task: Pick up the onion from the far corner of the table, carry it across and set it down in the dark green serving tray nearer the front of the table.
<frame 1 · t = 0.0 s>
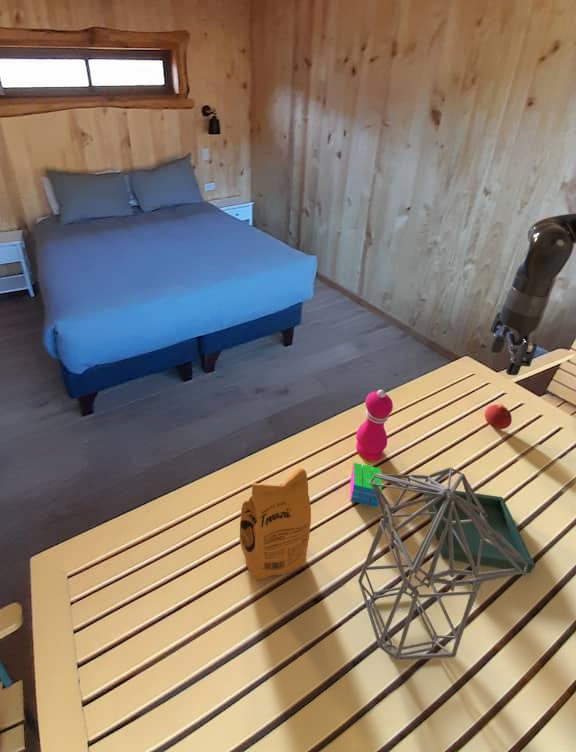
hand: (502, 362, 98), 22 cm above the table, tool pointing down, fingers open, 8 cm apart
onion: (493, 427, 107), on the table
coffee package: (271, 552, 81), on the table
pepper mill: (368, 451, 101), on the table
puzzle toy: (363, 493, 91), on the table
geometric lantern: (401, 623, 70), on the table
tray: (472, 530, 83), on the table
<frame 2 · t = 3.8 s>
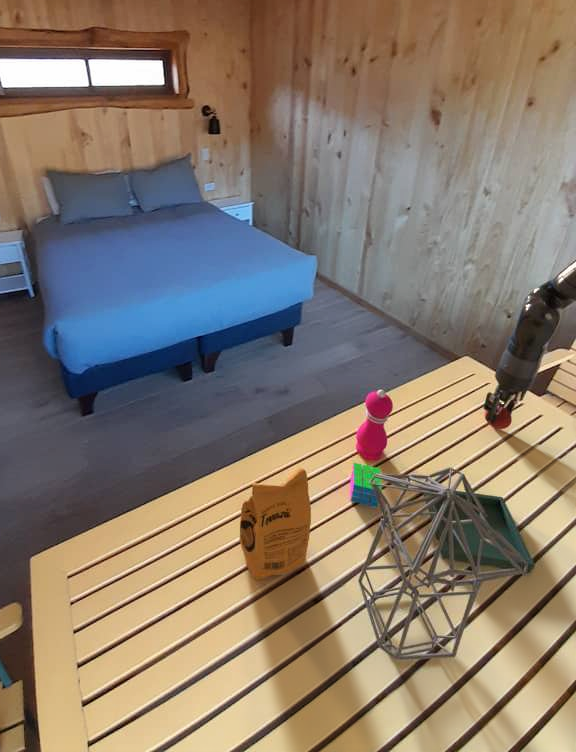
hand: (497, 417, 105), 4 cm above the table, tool pointing down, fingers closed on onion, 6 cm apart
onion: (493, 427, 107), on the table, touching gripper
everything else where it was.
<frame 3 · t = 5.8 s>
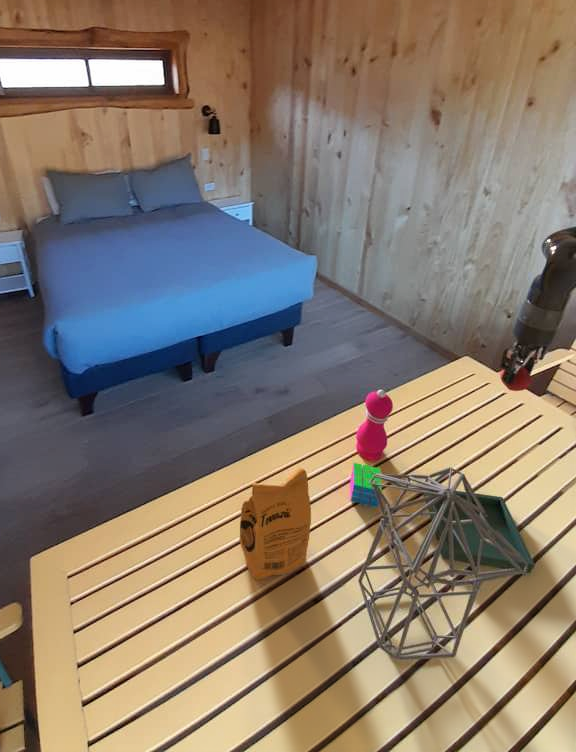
hand: (515, 378, 96), 19 cm above the table, tool pointing down, fingers closed on onion, 6 cm apart
onion: (510, 390, 98), point 16 cm above the table, touching gripper
everything else where it was.
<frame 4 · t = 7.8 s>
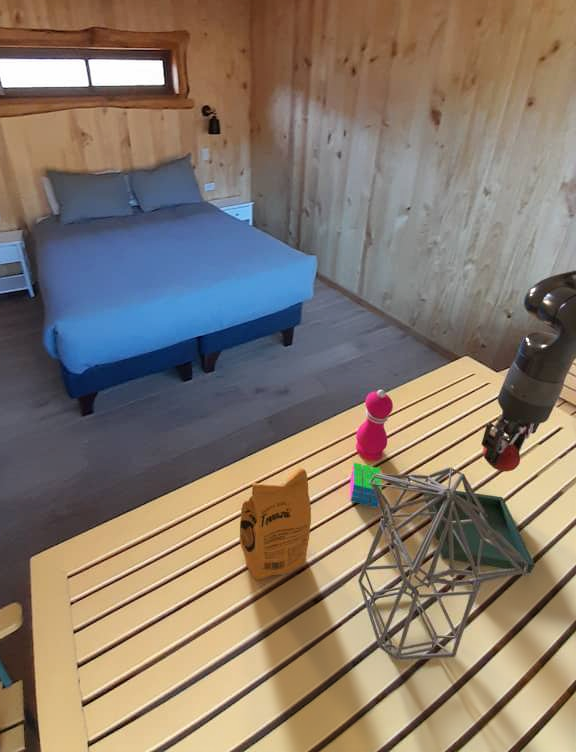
hand: (501, 454, 77), 20 cm above the table, tool pointing down, fingers closed on onion, 6 cm apart
onion: (495, 467, 79), point 16 cm above the table, touching gripper
everything else where it was.
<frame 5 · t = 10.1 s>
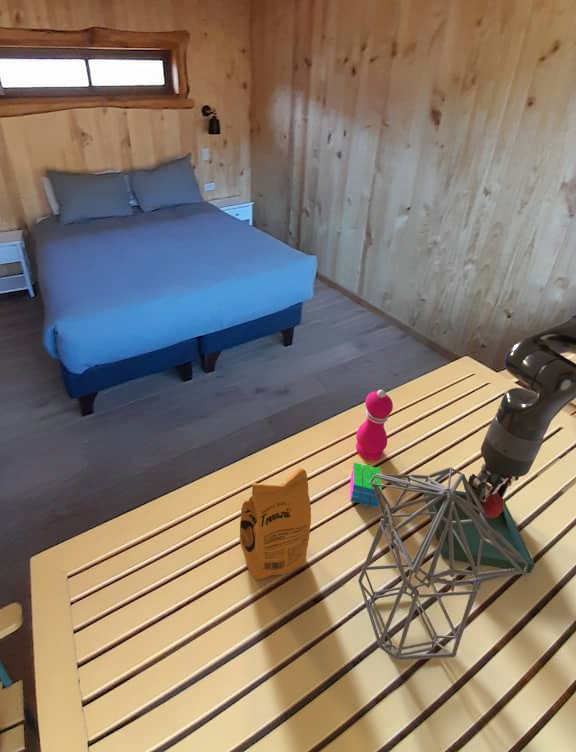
hand: (485, 501, 79), 10 cm above the table, tool pointing down, fingers closed on onion, 6 cm apart
onion: (479, 512, 81), point 6 cm above the table, touching gripper
everything else where it was.
when the fingers open (4 cm above the table, at t = 11.9 s): onion stays where it is, resting on tray.
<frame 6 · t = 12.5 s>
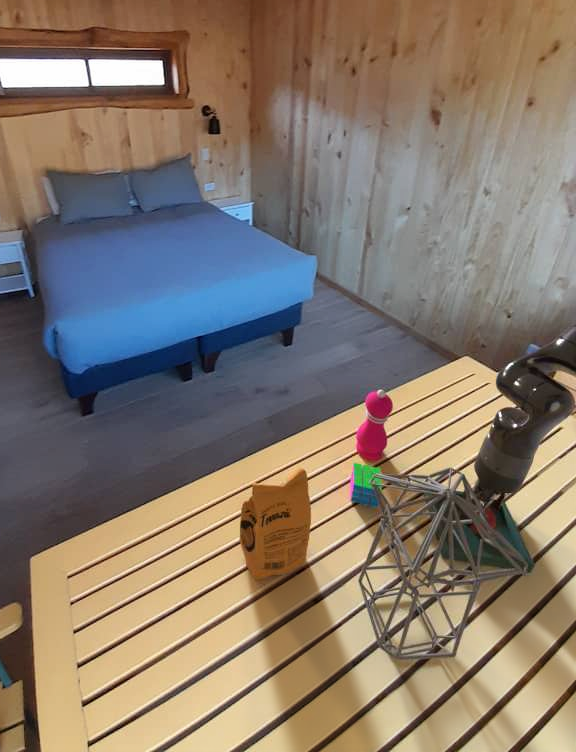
hand: (479, 513, 81), 6 cm above the table, tool pointing down, fingers open, 8 cm apart
onion: (473, 528, 83), point 1 cm above the table, touching tray
everything else where it was.
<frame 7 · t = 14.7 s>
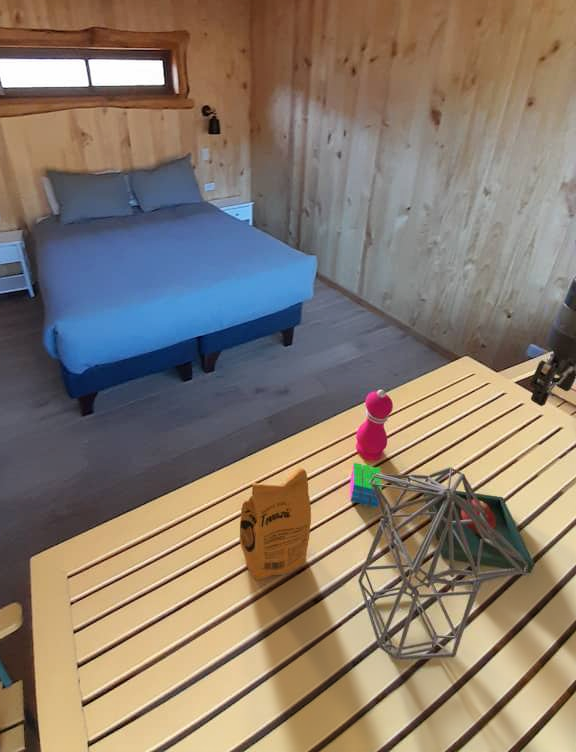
hand: (550, 395, 80), 27 cm above the table, tool pointing down, fingers open, 8 cm apart
nothing on the table moved.
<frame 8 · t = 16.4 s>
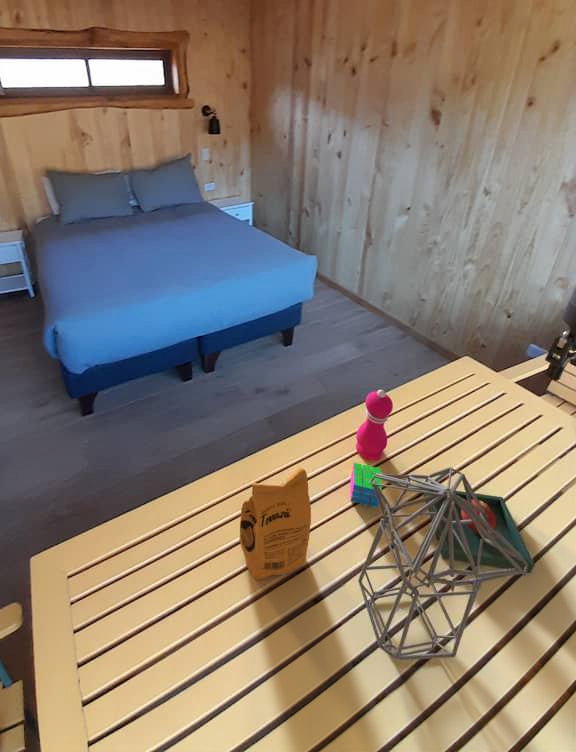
hand: (564, 371, 82), 30 cm above the table, tool pointing down, fingers open, 8 cm apart
nothing on the table moved.
at the end: onion inside the target area in the tray (0.1 cm from its centre), point 0.6 cm above the tray's base; the gripper is holding nothing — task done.
